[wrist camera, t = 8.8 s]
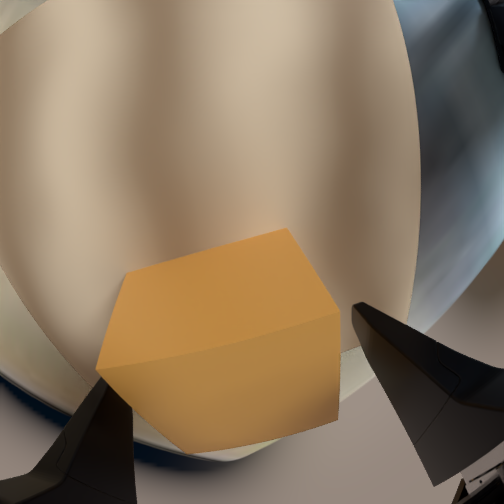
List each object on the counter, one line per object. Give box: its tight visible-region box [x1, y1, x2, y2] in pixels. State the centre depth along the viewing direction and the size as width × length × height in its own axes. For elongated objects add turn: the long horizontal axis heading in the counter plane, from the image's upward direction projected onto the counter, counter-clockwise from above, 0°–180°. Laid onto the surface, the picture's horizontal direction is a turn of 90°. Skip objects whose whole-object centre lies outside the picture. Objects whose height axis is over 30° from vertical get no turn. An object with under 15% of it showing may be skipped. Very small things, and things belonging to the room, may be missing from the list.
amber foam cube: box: [95, 228, 341, 454], centre depth 9 cm, size 6×6×4 cm
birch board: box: [0, 0, 421, 388], centre depth 8 cm, size 18×19×5 cm
